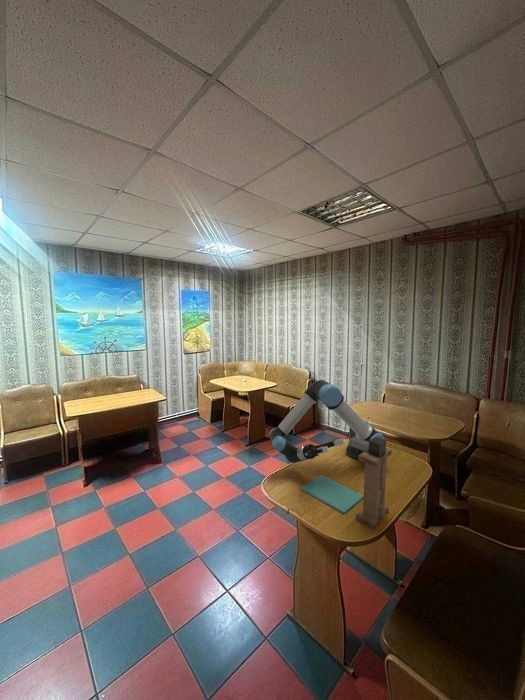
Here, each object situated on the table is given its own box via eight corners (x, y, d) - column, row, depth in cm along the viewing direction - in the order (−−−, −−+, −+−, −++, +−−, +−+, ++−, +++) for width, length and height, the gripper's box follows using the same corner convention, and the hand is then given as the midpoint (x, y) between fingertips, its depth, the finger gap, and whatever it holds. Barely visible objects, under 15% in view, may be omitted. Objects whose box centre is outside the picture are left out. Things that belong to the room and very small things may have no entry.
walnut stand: (372, 503, 139) (375, 444, 135) (388, 511, 133) (391, 450, 130) (355, 519, 128) (358, 455, 125) (371, 528, 122) (374, 461, 119)
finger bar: (354, 442, 138) (355, 430, 137) (385, 453, 127) (386, 440, 126) (347, 446, 134) (348, 433, 133) (379, 457, 123) (380, 444, 122)
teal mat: (321, 476, 162) (321, 475, 162) (363, 497, 143) (364, 496, 143) (300, 489, 150) (300, 487, 150) (344, 514, 131) (344, 512, 131)
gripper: (323, 452, 164) (352, 445, 150) (294, 466, 148) (323, 460, 133) (318, 439, 167) (346, 431, 152) (289, 452, 150) (317, 444, 135)
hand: (336, 444), depth 142 cm, fingers open, 13 cm apart
